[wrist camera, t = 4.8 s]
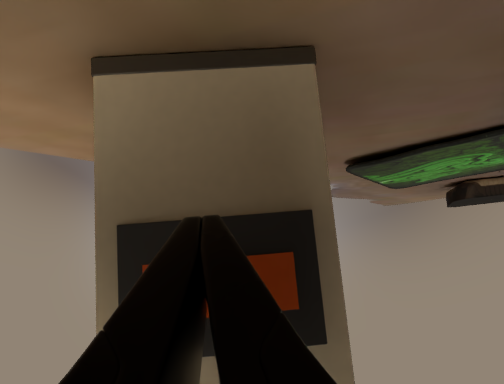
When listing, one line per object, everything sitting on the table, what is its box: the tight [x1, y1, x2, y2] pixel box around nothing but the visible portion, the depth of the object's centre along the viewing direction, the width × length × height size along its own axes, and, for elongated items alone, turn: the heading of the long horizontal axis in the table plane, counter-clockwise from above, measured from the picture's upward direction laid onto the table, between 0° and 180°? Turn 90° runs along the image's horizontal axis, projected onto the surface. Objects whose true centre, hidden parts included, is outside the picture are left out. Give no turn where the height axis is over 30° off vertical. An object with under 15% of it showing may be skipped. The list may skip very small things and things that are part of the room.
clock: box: [91, 47, 355, 384], centre depth 15 cm, size 6×9×14 cm, turn 87°
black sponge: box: [446, 177, 504, 207], centre depth 59 cm, size 16×8×4 cm, turn 101°
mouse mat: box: [346, 129, 504, 189], centre depth 36 cm, size 27×22×1 cm
